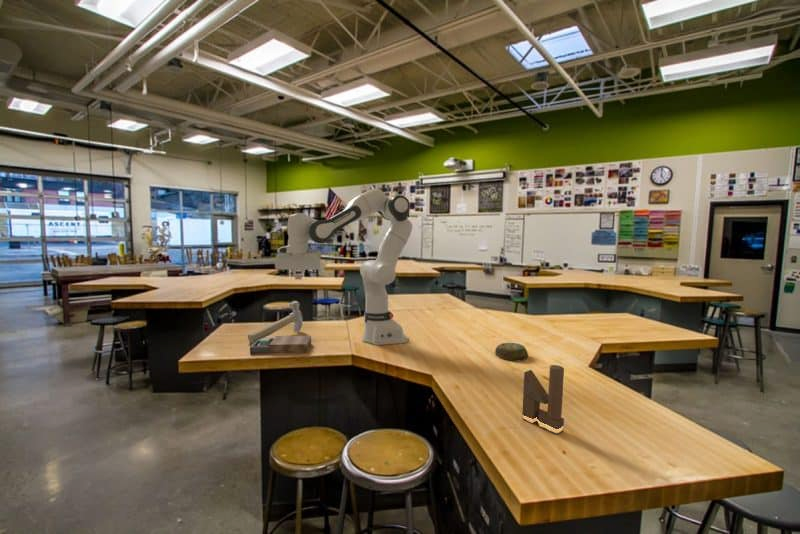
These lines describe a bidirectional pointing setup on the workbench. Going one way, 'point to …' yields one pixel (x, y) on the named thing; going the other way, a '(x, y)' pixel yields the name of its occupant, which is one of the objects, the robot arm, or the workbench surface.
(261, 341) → the tile
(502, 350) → the weight
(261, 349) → the tray
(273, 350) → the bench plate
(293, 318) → the hammer
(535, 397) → the brown letter n
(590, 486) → the workbench surface
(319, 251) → the robot arm
